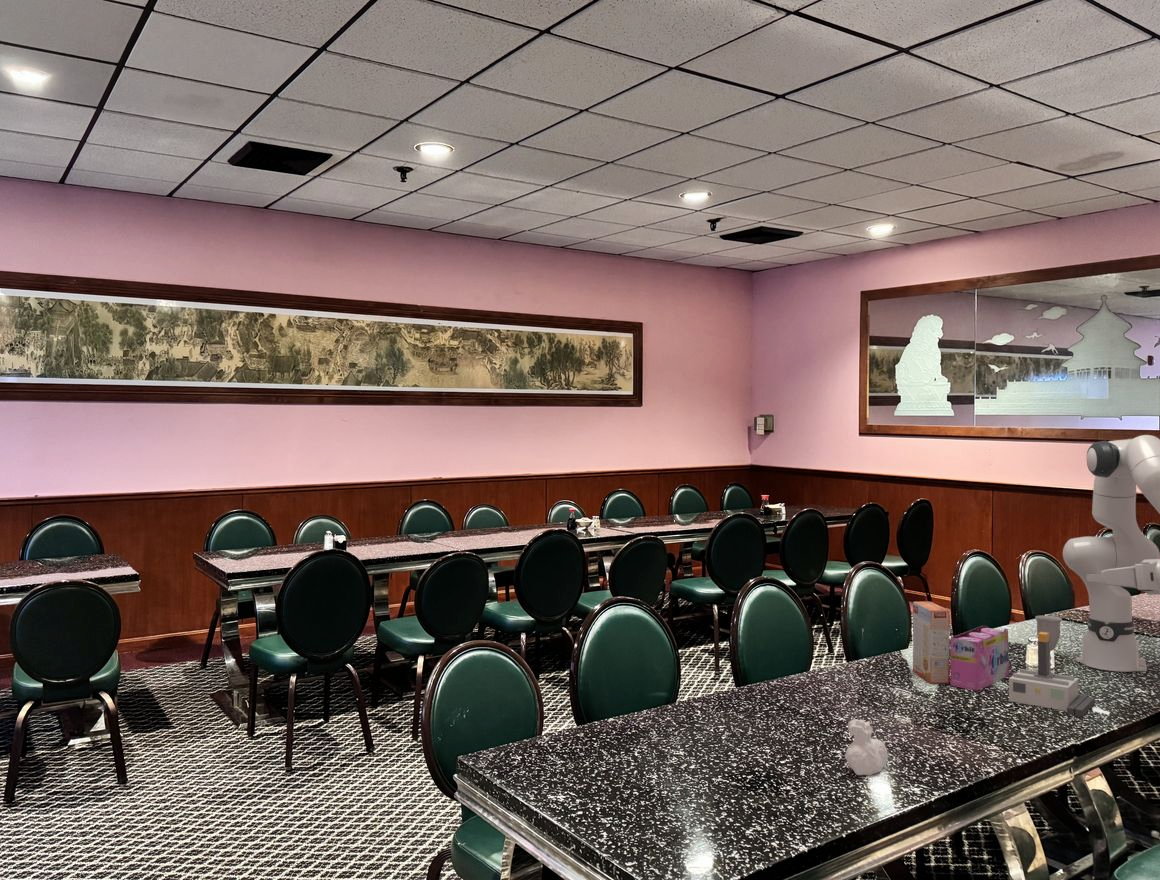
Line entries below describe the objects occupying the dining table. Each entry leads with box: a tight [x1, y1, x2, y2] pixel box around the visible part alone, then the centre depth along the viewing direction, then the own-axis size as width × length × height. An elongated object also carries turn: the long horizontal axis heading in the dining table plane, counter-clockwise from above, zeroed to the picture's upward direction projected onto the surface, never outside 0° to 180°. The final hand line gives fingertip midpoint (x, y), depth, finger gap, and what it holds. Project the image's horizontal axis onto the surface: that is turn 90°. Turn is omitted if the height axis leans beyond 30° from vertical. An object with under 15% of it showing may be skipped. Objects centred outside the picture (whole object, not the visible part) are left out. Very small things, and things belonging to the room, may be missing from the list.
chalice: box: [1035, 615, 1063, 674], centre depth 259 cm, size 7×7×18 cm
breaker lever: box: [1034, 632, 1053, 679], centre depth 240 cm, size 4×4×12 cm
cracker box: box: [912, 601, 951, 684], centre depth 264 cm, size 14×6×21 cm, turn 179°
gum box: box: [949, 625, 1010, 691], centre depth 261 cm, size 24×8×14 cm, turn 134°
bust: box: [844, 718, 889, 777], centre depth 192 cm, size 12×8×11 cm
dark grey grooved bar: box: [1066, 693, 1096, 718], centre depth 234 cm, size 16×3×2 cm, turn 140°
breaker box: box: [1008, 668, 1079, 712], centre depth 240 cm, size 11×14×7 cm
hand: (1093, 578), depth 240 cm, fingers open, 8 cm apart
